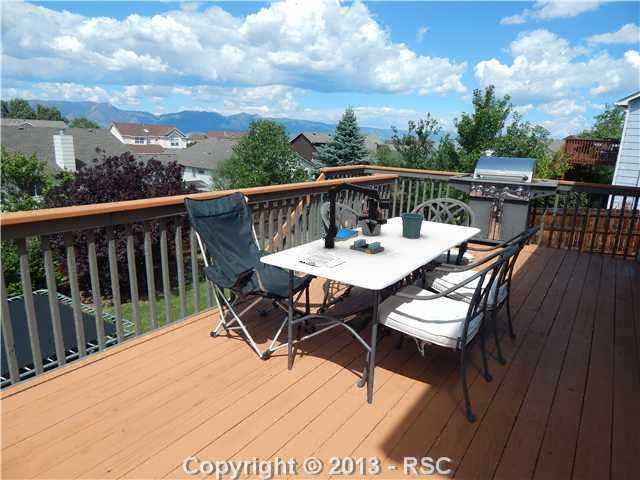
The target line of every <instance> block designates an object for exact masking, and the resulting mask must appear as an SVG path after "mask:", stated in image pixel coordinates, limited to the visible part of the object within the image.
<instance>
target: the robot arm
mask: <svg viewBox="0 0 640 480" xmlns="http://www.w3.org/2000/svg"><path fill="white" fill-rule="evenodd" d="M344 190H348V191H352V192H356V193H358V194H363V195H364V196H366V197H367V198H366V200H365V202H368V207H367V209H368V210H367V212H368V216H365V215H362V216H360V215H359V216H358V217H357V221H360V222H361V221H362V220H366V222H365V223H366V224H367V226H368V228H369V230H370V233H373V231H374V229H375V227H376V225H377V224H380V225H381V226H384V225H386V224H388V220H387V218H382V216H383V217H384V214H381V213H379V210H386V211H387V210H390V207H391V202H390V201H391V198H390V197H389V198H382V197H381V196H380V194H379V190H378V189H377V188H376V187H365V186H360V185H357V184H352V183H350V182H347V181H344V182H342V183H340V184H338V185H337V186H331V188H329V189H328V190H327V196H328V201H329V224H328V225H329V226H328V230H327V233H328V234H327V233H326V234H327V235H326V236H325V237H324V239H325V240H324V249H327V250H329V249H335V247H336V246H335V243H336V242H335V241H334V238H335V237H336V235H337V234H338V232H339V231H338V229H340V225H337V200H338V196H339V193H340V192H342V191H344ZM370 219H371V220H370Z"/></svg>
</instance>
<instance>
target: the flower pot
mask: <svg viewBox="0 0 640 480" xmlns="http://www.w3.org/2000/svg"><path fill="white" fill-rule="evenodd" d="M400 216H401V221H402V224H401V225H402V238H403V237H404V238H407V239H418V238H420V237H421V230H422V225H423V221H424V217H425V215H424V214H421V213H416V212H415V213H414V212H403V213H401V214H400Z"/></svg>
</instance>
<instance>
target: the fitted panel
mask: <svg viewBox="0 0 640 480" xmlns="http://www.w3.org/2000/svg"><path fill="white" fill-rule="evenodd" d="M366 241H367V240H366V238H360V239H357V240H354V241H353V245H354V246H355V247H360V246H363V245H366V243H367V242H366Z"/></svg>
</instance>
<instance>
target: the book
mask: <svg viewBox="0 0 640 480" xmlns="http://www.w3.org/2000/svg"><path fill="white" fill-rule="evenodd" d="M338 231H339V232H338V234H337V235H336V237H335V238H334V241H335V243H339V242H346V241H348V240H350V239H353V238H356V237H358V236H359V232H360V230H354V229H347V228H338ZM327 234H328V232H327V233H325V234H323V237H322V240H323V239H324V237H325V236H326V235H327Z"/></svg>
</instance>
